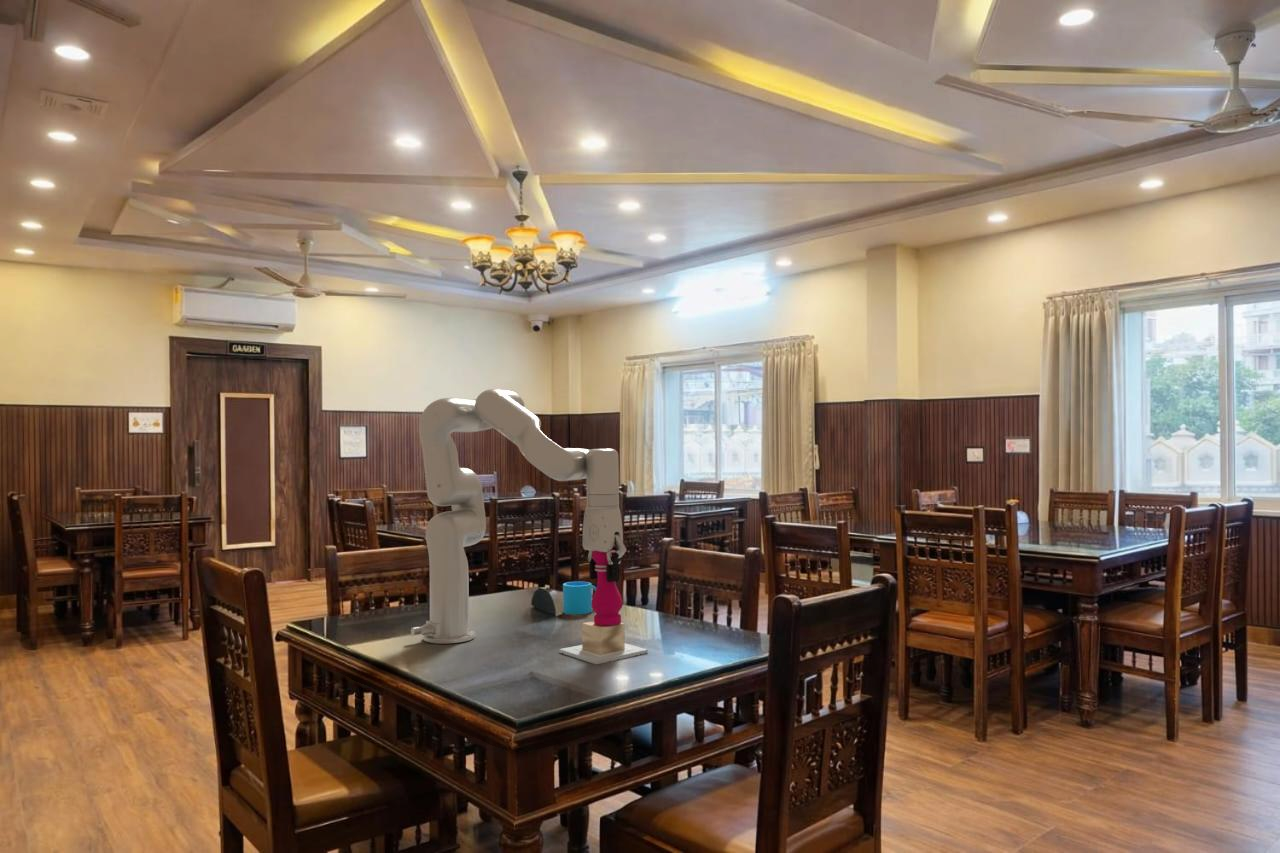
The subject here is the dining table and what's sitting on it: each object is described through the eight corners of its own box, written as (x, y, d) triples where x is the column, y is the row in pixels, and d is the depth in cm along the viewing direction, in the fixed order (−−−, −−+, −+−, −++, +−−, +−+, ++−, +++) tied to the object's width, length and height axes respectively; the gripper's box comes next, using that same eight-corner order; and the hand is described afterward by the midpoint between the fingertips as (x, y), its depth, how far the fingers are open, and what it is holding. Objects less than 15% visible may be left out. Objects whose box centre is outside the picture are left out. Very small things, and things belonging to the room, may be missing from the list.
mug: (574, 616, 237) (574, 587, 237) (557, 612, 243) (557, 583, 243) (607, 610, 245) (607, 582, 245) (590, 606, 251) (590, 579, 251)
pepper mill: (623, 619, 199) (620, 534, 200) (623, 625, 192) (620, 537, 193) (592, 621, 199) (589, 535, 200) (591, 626, 192) (588, 538, 193)
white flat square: (596, 664, 186) (596, 660, 186) (559, 652, 196) (559, 648, 196) (647, 653, 195) (647, 649, 195) (610, 642, 206) (610, 638, 206)
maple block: (600, 654, 191) (600, 628, 191) (582, 649, 196) (582, 623, 196) (624, 649, 196) (624, 623, 196) (606, 644, 201) (605, 618, 201)
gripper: (568, 501, 201) (569, 577, 200) (613, 504, 187) (614, 586, 187) (593, 499, 205) (594, 574, 205) (639, 502, 192) (640, 582, 192)
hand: (604, 579), depth 196 cm, fingers open, 5 cm apart
